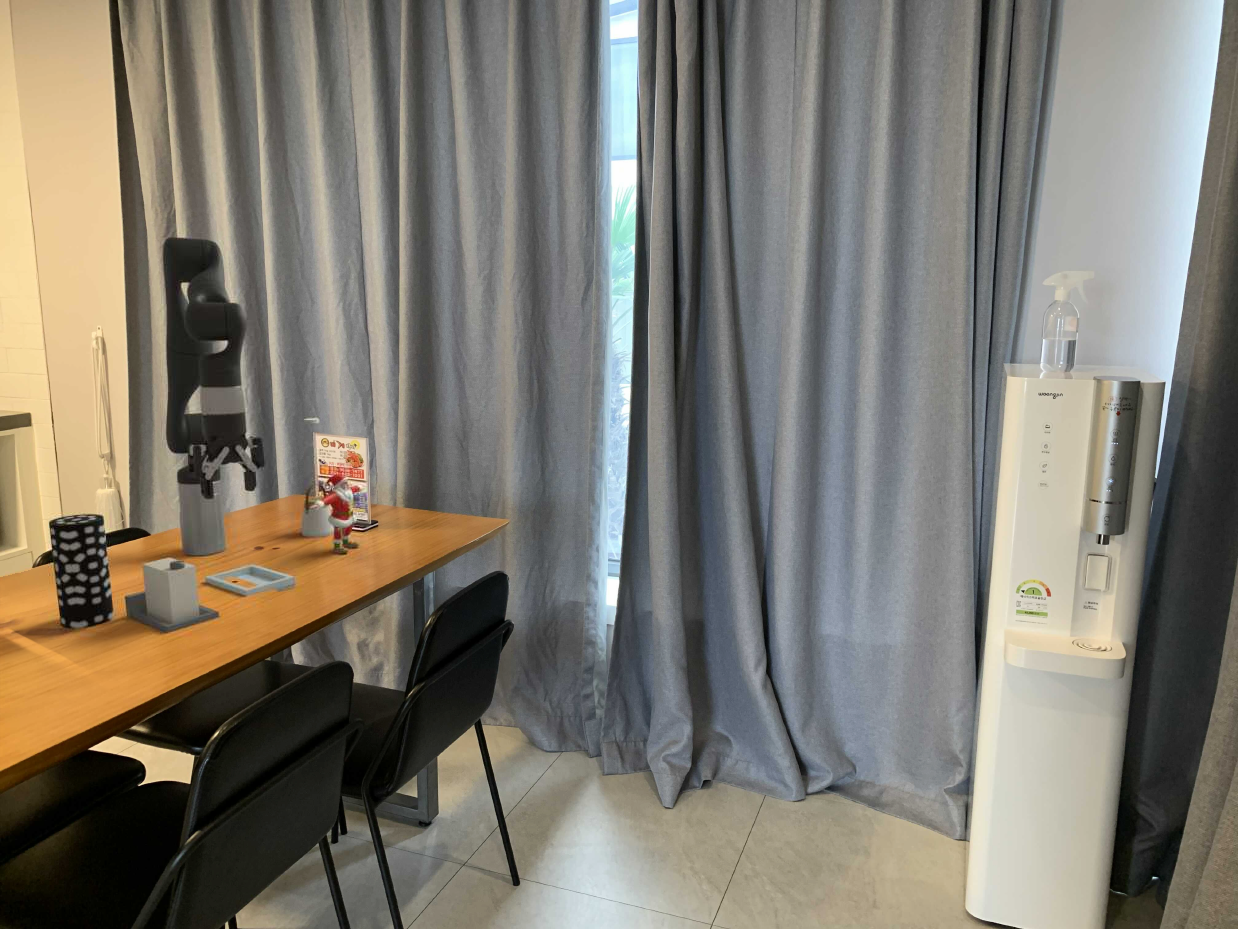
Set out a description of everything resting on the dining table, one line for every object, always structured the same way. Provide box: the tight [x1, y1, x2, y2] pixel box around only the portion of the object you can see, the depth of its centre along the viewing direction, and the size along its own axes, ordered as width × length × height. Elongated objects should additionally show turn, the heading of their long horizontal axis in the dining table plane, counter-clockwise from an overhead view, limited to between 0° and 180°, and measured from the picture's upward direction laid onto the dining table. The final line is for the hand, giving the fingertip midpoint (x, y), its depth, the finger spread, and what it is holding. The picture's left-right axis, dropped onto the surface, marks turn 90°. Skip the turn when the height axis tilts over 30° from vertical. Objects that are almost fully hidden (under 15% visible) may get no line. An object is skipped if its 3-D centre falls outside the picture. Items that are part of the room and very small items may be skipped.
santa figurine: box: [310, 473, 366, 555], centre depth 203 cm, size 25×6×19 cm, turn 169°
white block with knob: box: [142, 557, 200, 624], centre depth 156 cm, size 9×5×11 cm, turn 56°
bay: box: [124, 590, 220, 634], centre depth 156 cm, size 14×10×5 cm
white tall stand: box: [300, 417, 334, 538], centre depth 217 cm, size 8×8×30 cm
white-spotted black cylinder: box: [48, 513, 115, 629], centre depth 153 cm, size 8×8×20 cm
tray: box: [204, 563, 296, 597], centre depth 177 cm, size 15×11×2 cm
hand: (229, 494), depth 161 cm, fingers open, 8 cm apart
